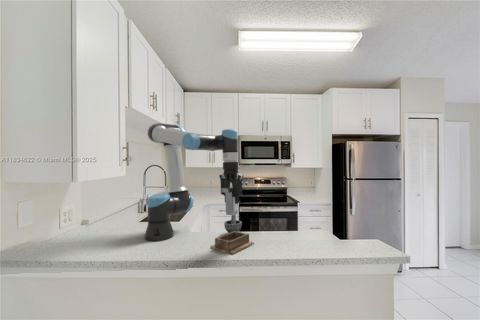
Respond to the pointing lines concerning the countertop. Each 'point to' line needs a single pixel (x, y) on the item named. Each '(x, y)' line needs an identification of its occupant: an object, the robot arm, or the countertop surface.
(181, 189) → the robot arm
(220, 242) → the wooden box
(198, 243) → the countertop surface
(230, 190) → the bracket
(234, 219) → the mortar and pestle
